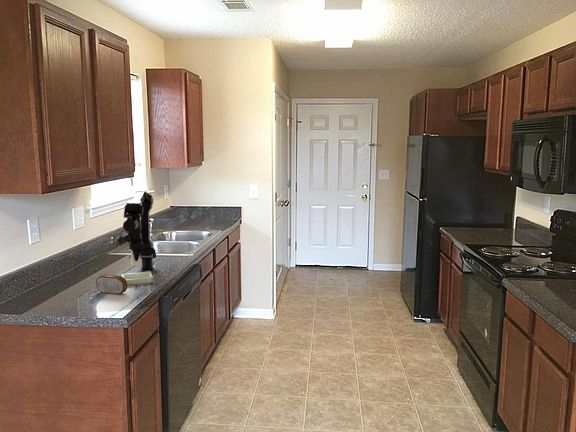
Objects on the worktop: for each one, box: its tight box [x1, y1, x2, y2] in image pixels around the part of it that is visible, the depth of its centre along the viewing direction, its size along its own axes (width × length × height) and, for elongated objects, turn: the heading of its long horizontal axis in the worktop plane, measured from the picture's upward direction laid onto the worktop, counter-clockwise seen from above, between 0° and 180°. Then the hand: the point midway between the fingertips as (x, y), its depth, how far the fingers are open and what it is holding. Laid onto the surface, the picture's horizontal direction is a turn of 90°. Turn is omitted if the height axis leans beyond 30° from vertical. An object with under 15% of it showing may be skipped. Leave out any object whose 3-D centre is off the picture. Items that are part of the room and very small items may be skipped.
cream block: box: [130, 249, 142, 267], centre depth 229 cm, size 4×4×9 cm
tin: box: [95, 273, 129, 295], centre depth 212 cm, size 15×3×8 cm, turn 74°
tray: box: [120, 271, 154, 287], centre depth 231 cm, size 12×14×3 cm
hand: (136, 259), depth 229 cm, fingers closed on cream block, 4 cm apart
